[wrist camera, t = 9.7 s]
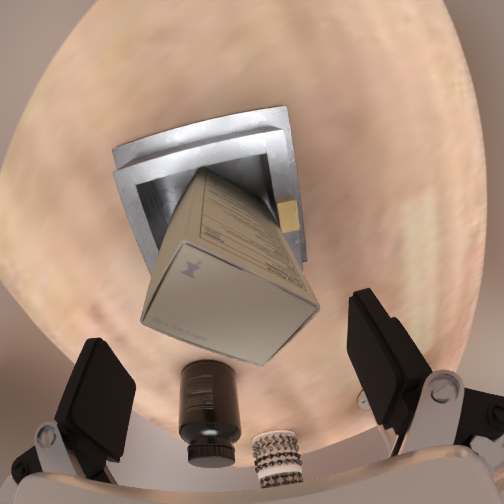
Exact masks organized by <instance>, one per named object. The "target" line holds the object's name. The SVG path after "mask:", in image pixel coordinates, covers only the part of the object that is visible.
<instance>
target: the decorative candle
mask: <svg viewBox="0 0 504 504" xmlns="http://www.w3.org/2000/svg"><path fill="white" fill-rule="evenodd" d="M252 443H253V446H252V448H253V451H255V452H254V453H253V455H254V456H253V457H254V458H256V459H257V460H256V461H254V463H255V465H256V466H258V467H256V468H255V470H256V472H257V473H258V478H259V481H260V485H261V489H262V488H270V487H277V486H284V485H290V484H295V483H301V482H303V478H302V469H301V465H302V461H300V460H299V459H300V456H301V455H300V454H298V453H297V452H298V450H299V446H298V445H296V444H297V439H296V438H295V433H294V432H293V431H289V430H274V431H268V432H265V433H261V434H259V435H257V436H255V437H254V438H253V439H252Z"/></svg>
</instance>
